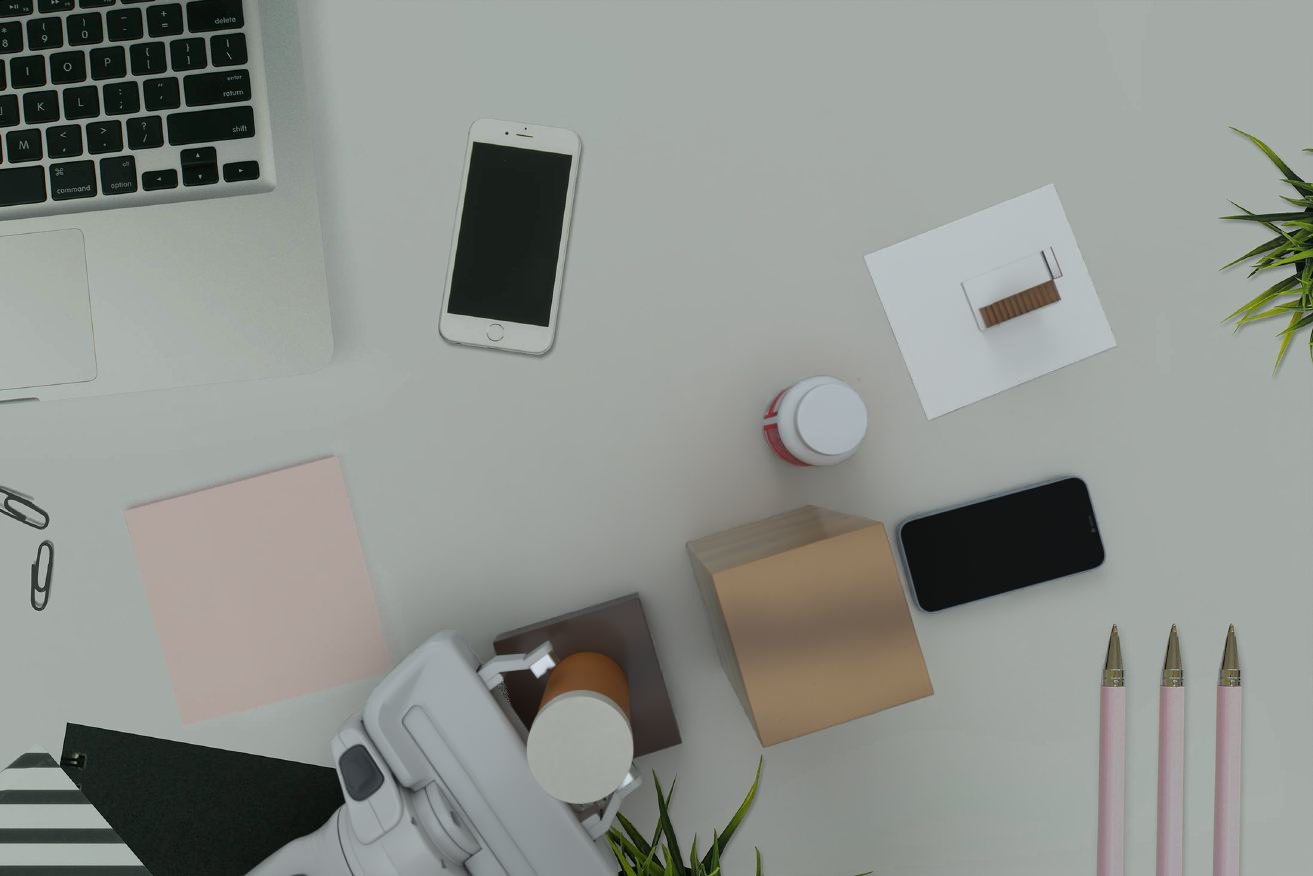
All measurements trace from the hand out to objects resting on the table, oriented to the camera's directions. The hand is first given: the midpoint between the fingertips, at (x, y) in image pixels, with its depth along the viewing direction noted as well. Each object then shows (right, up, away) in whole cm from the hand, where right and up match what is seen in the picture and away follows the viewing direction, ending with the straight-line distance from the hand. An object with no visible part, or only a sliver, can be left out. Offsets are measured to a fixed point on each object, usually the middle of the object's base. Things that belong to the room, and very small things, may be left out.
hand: (595, 710), depth 63 cm
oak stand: (+12, +6, +10) cm, 17 cm away
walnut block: (-1, -1, +10) cm, 10 cm away
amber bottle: (-1, -1, +7) cm, 7 cm away
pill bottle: (+15, +19, +11) cm, 26 cm away
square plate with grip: (+30, +28, +12) cm, 43 cm away
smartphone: (+30, +10, +11) cm, 34 cm away
